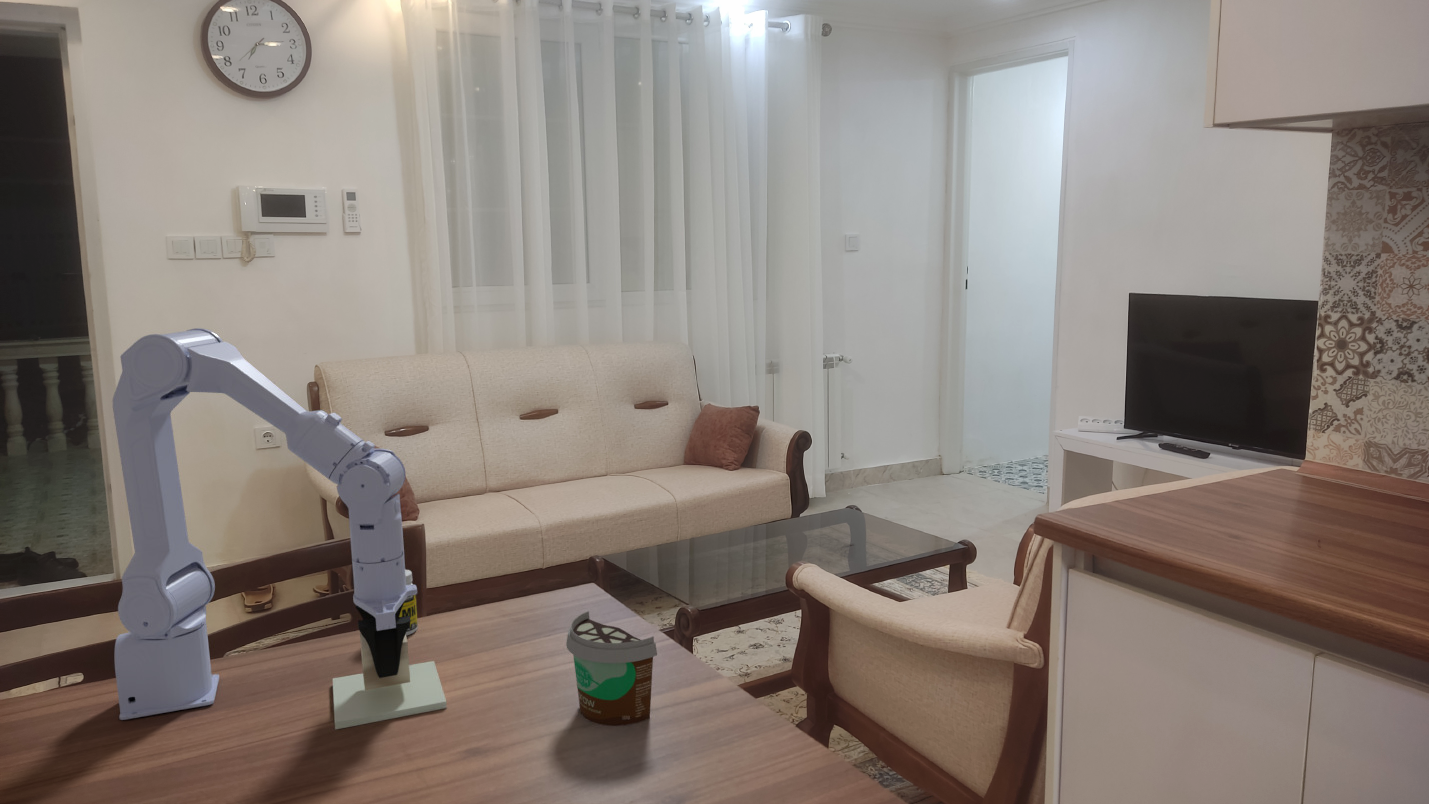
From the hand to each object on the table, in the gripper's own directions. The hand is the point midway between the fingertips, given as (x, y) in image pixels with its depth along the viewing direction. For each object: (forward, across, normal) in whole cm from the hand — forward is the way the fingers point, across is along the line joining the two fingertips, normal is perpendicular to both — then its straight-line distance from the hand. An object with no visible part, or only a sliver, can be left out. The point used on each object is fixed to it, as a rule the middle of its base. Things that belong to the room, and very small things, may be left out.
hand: (386, 665), depth 110 cm
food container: (+4, -15, -22) cm, 27 cm away
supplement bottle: (+4, +20, -3) cm, 21 cm away
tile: (+4, 0, 0) cm, 4 cm away
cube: (+1, 0, 0) cm, 1 cm away
